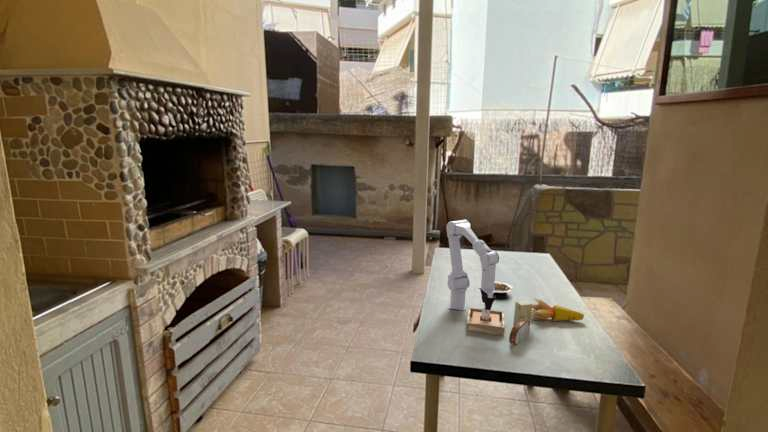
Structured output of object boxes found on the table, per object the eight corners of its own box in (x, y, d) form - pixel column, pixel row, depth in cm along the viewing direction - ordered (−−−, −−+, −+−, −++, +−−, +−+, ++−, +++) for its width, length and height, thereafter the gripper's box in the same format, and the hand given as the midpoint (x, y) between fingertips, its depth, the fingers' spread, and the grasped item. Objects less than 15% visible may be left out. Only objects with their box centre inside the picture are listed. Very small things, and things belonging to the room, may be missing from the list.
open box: (468, 315, 198) (469, 307, 198) (503, 319, 194) (503, 311, 194) (466, 331, 183) (466, 322, 182) (503, 336, 179) (504, 327, 179)
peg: (480, 321, 191) (481, 307, 189) (488, 321, 191) (488, 308, 189) (482, 325, 187) (483, 311, 185) (489, 325, 187) (490, 311, 185)
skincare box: (518, 330, 184) (520, 305, 181) (512, 326, 188) (514, 301, 185) (530, 328, 186) (533, 303, 183) (525, 324, 190) (527, 299, 187)
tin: (521, 332, 183) (523, 314, 181) (528, 334, 181) (530, 317, 179) (507, 346, 171) (509, 328, 169) (515, 349, 169) (516, 330, 168)
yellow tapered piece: (580, 330, 192) (525, 320, 195) (578, 316, 198) (524, 306, 201) (587, 320, 186) (530, 310, 189) (584, 306, 192) (529, 296, 195)
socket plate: (472, 316, 196) (473, 311, 195) (498, 319, 193) (499, 314, 192) (471, 328, 185) (471, 323, 184) (499, 331, 182) (499, 326, 181)
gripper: (476, 271, 191) (475, 298, 194) (481, 283, 177) (480, 313, 180) (492, 272, 191) (490, 299, 194) (498, 284, 176) (496, 313, 180)
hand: (486, 306), depth 187 cm, fingers open, 7 cm apart
